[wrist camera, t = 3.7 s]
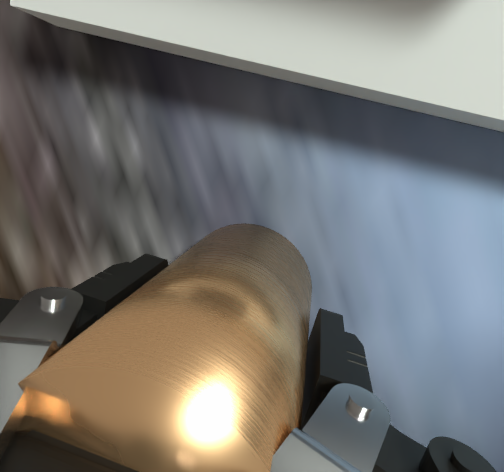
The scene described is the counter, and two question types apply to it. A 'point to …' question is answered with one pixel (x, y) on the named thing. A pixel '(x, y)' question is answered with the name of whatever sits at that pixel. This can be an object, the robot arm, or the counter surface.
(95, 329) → the spout can
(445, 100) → the white board with frame
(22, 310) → the robot arm
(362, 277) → the counter surface
